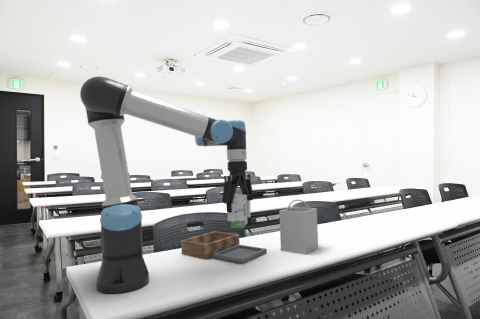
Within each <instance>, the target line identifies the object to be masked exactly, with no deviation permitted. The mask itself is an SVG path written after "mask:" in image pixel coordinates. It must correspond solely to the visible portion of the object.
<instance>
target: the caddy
mask: <svg viewBox="0 0 480 319" xmlns="http://www.w3.org/2000/svg"><path fill="white" fill-rule="evenodd" d="M278 211H279V232H280V233H279V234H280V236H279V237H280V251H281V252H282V251H283V252H289V253H295V254H303V255H308V254H310V253H311V252H313V251H315V250H317V249H319V238H318V237H319V232H318V230H319V229H318V209H317V208H312V207H308V211H307V207H296V206H295V207H294V206H292V207H291V206H290V208H289V211H288V207H287V208H284V209H280V210H278Z"/></svg>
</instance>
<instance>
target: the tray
mask: <svg viewBox="0 0 480 319" xmlns="http://www.w3.org/2000/svg"><path fill="white" fill-rule="evenodd" d="M266 253H267V248H264V247H256V246H250V245H246V244H245V245H244V244H240V245H236V246H234V247H231V248H228V249H225V250H223V251H220V252H217V253H214V254H213V258H212V259H214V260H218V261H223V262H227V263H234V264H238V265H244V264H246V263H248V262H251V261H253V260H255V259H257V258H260V257H262V256H264V255H266Z"/></svg>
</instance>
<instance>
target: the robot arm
mask: <svg viewBox="0 0 480 319" xmlns="http://www.w3.org/2000/svg"><path fill="white" fill-rule="evenodd" d="M79 95H80V100H81V102H82V104H83V106H84V107H85V113H86V118H87V123H88V126H89V127H91V128H92V129H93V131H94V137H95V142H96V149H97V153H98V159H99V167H100V172H101V178H102V179H101V180H102V183H103V190H104V196H105V199H104V201H103V202H102V204H101V207H102V208H101V209H102V211H101V213H100V219H99V223H100V228H101V229H100V230H101V233H100V235H101V236H100V238H101V239H100V240H101V263H100V267H99V270H98V273H97V277H96V281H95V282H96V283H95V288H96V291H98V292H99V293H103V294H122V293H126V292H131V291H132V292H133V291H135V290H138V289H140V288H143V287H145V286H146V285H147V284H148V283H149V281H150V272H149V269H148V267H147V265H146V262H145V258H144V255H143V232H142V231H143V226H142V220H143V214H142V210H141V208H140V207H139V201H138V200H139V199H138V197H137V196H135V195H134V194H133V192H132V186H131V180H130V179H131V178H130V174H129V168H128V162H127V156H126V151H125V150H126V148H125V143H124V137H123V131H122V125H123V124H124V123H125V116H124V115H128V116H131V117H134V118H138V119H141V120H142V121H143V120H144V121H147V122H150V123H153V124H156V125H159V126H162V127H166V128H168V129H172V130H175V131H178V132H182V133H184V134H188V135H189V136H194V141H195V144H196V145H197V146H198V147H205V148H206V147H219V146H220V147H221V146H223V147H225V146H226V159H227V161H228V162H227V171H228V172H229V175H225V176H224V177H223V181H224V185H223V192H222V199H221V202H222V203H223V204H226V215H227V221H228V222H231V221H233V222H234V221H235V217H234V204H232V202H233V199H234V195H235V194H236V191H237V188H240V190H241V193H242V194H247V218H251V216H252V215H251V201H253V198H254V197H255V196H254V191H253V187H252V182H251V181H252V180H251V173H246V171H248V162H247V130H246V123H245V121H243V120H241V119H235V120H233V119H232V120H227V119H226V120H225V119H215V118H212V117H209V116H206V115H203V114H200V113H197V112H195V111H192V110H190V109H189V110H188V109H187V108H184V107H181V106H179V105H178V106H177V105H176V104H175V105H174V104H172V103H169V102H166V101H164V100H161V99H158V98H156V97H153V96H148V95H147V94H143V93H140V92H138V91H135V90H133V89H132V87H131V86H130V85H127V84H124V83H122V82H119V81H117V80H115V79H111V78H109V77H105V76H92V77H91V78H88V79H86V80H85V82H83V84H82V86H81V87H80V92H79Z"/></svg>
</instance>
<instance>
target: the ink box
mask: <svg viewBox="0 0 480 319" xmlns="http://www.w3.org/2000/svg"><path fill="white" fill-rule="evenodd" d="M232 204H234V217H235V221H234V222H233V221H230V229H231V228H232V229H233V228H235V229H237V228H238V229H239V228H240V229H243V228H245V227H246V225H247V224H248V217H247V194H238V193H235V195H234V199H233V202H232Z"/></svg>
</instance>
